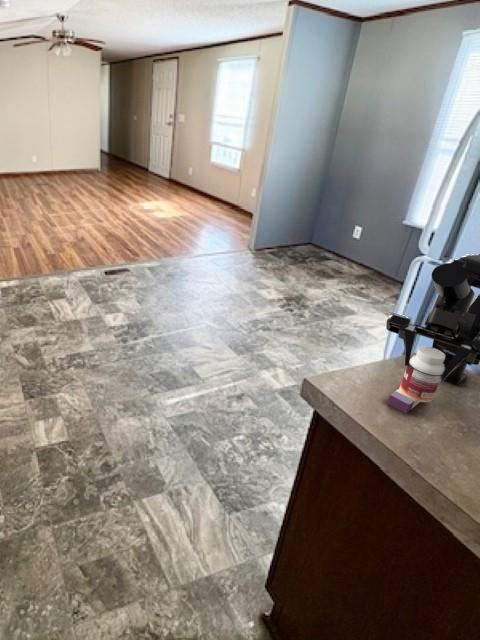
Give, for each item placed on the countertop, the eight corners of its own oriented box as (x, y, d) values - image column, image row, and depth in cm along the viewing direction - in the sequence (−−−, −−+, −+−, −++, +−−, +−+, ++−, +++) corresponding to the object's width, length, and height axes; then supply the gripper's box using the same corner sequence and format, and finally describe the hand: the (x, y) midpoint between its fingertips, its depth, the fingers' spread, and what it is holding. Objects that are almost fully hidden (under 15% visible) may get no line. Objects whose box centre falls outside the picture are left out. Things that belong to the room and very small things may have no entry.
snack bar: (406, 388, 103) (409, 380, 102) (425, 397, 100) (428, 389, 99) (386, 403, 98) (390, 394, 97) (406, 413, 95) (409, 404, 94)
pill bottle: (404, 381, 97) (419, 340, 92) (436, 394, 92) (454, 353, 88) (394, 392, 93) (409, 351, 89) (428, 407, 89) (445, 364, 84)
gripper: (401, 279, 92) (373, 342, 89) (517, 309, 80) (488, 382, 77) (399, 300, 100) (373, 357, 98) (504, 329, 88) (478, 396, 85)
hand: (423, 371), depth 89 cm, fingers closed on pill bottle, 6 cm apart
